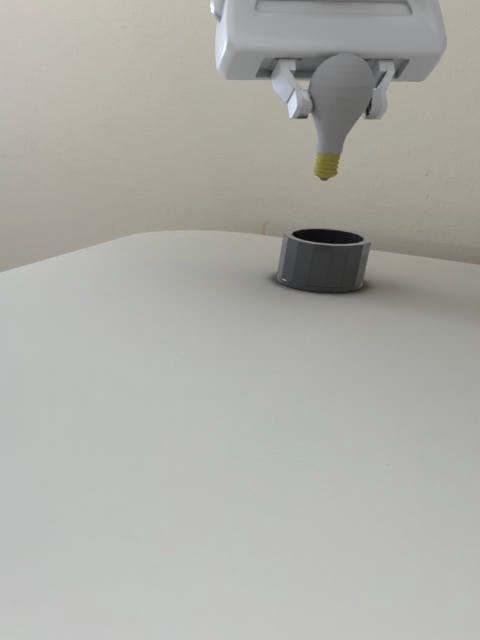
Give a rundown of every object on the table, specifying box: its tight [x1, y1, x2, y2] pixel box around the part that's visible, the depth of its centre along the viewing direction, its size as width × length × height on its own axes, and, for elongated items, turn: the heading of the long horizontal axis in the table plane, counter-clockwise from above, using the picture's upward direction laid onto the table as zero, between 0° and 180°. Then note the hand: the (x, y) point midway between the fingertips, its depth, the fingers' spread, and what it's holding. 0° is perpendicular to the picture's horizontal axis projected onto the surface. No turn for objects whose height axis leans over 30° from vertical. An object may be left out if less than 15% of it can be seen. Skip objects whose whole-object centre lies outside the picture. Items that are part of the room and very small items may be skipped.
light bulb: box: [307, 53, 374, 182], centre depth 88 cm, size 5×6×10 cm
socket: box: [276, 226, 373, 294], centre depth 102 cm, size 9×9×4 cm
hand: (339, 114), depth 87 cm, fingers closed on light bulb, 5 cm apart
